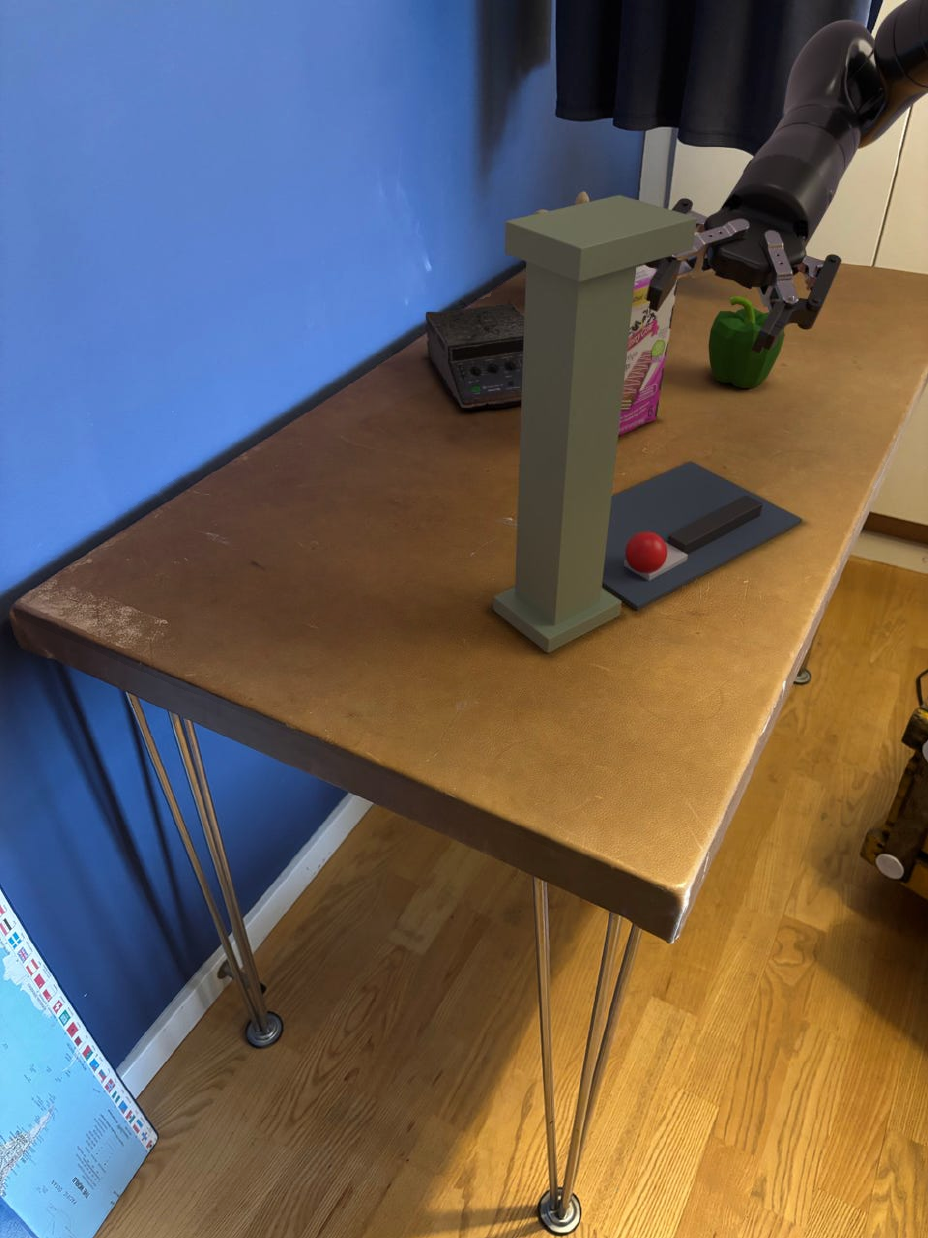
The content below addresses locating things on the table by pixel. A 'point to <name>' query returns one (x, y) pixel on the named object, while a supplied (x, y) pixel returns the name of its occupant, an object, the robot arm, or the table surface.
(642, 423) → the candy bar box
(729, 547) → the mat
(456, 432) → the table surface
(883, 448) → the table surface
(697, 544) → the bar with red ball
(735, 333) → the bell pepper
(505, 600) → the stand
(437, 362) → the electronic device
